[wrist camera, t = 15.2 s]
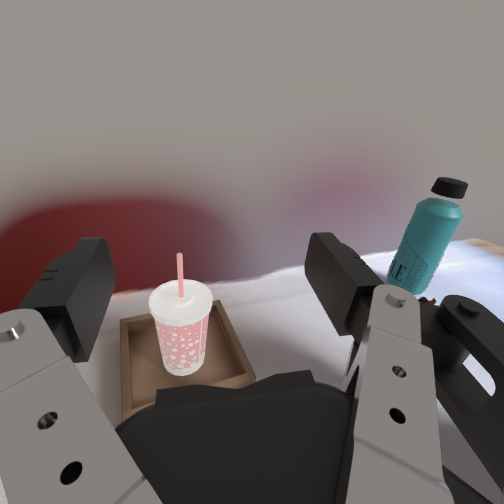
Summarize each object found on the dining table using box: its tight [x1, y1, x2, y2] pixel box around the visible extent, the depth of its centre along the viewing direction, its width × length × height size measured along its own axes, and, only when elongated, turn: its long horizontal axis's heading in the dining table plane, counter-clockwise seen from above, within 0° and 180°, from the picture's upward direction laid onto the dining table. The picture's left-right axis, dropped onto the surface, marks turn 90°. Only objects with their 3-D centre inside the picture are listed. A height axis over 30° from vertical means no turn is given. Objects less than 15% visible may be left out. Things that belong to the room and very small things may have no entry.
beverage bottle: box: [387, 177, 468, 295], centre depth 44 cm, size 6×7×20 cm
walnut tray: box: [120, 300, 256, 422], centre depth 31 cm, size 13×13×3 cm
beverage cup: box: [149, 253, 213, 376], centre depth 28 cm, size 6×6×14 cm
